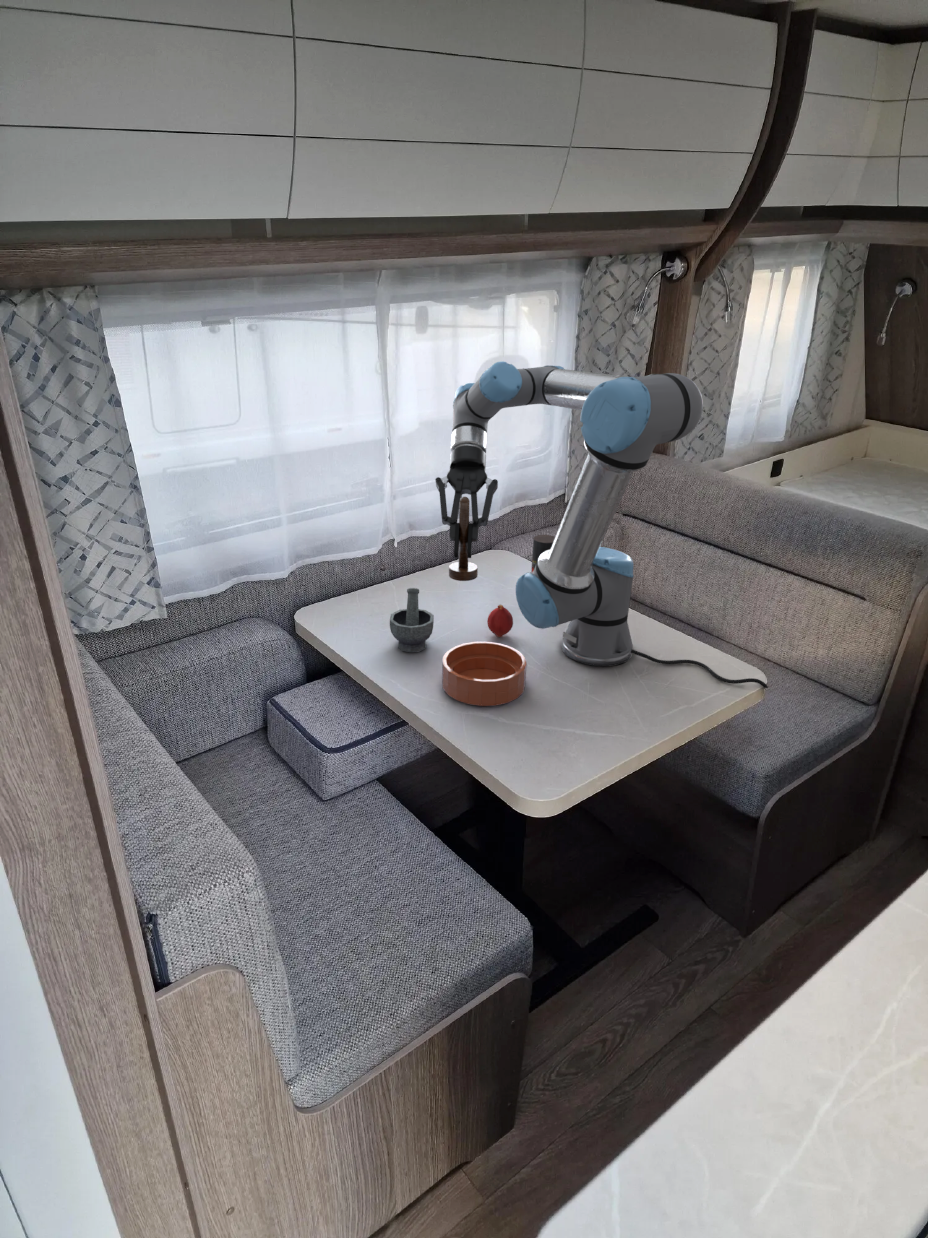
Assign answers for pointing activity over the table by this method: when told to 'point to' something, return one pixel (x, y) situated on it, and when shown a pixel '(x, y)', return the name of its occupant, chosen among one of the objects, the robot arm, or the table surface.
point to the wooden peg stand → (463, 548)
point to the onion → (500, 621)
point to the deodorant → (540, 547)
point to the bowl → (484, 673)
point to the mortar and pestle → (411, 624)
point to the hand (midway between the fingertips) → (462, 554)
